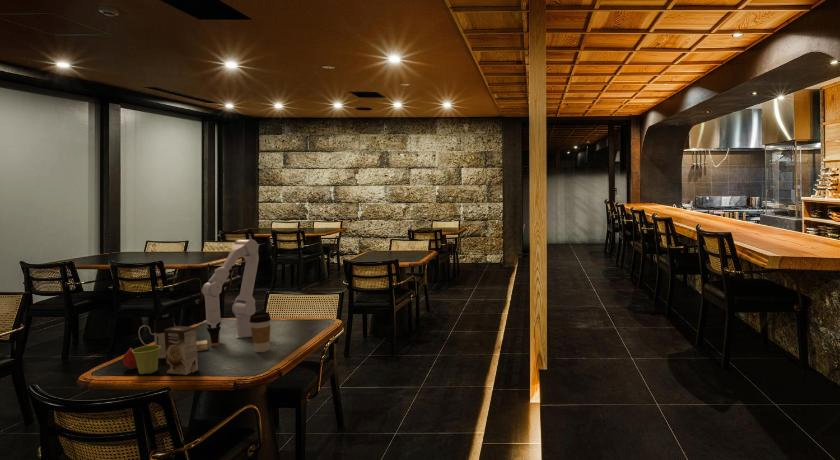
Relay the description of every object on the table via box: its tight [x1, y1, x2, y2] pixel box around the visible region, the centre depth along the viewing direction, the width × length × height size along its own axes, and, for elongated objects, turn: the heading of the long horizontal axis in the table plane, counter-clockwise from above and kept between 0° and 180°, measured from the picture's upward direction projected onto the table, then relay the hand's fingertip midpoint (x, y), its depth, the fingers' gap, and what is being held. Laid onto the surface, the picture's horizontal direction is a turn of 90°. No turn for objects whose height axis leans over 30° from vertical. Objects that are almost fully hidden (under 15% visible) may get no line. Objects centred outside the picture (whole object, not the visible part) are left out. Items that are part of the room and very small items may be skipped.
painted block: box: [209, 334, 221, 347], centre depth 232 cm, size 4×4×5 cm
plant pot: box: [132, 344, 161, 375], centre depth 196 cm, size 9×9×9 cm
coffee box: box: [164, 325, 199, 376], centre depth 195 cm, size 9×6×16 cm
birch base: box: [196, 339, 209, 352], centre depth 225 cm, size 6×6×3 cm
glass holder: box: [137, 316, 176, 359], centre depth 216 cm, size 9×14×15 cm, turn 135°
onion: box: [122, 347, 137, 370], centre depth 201 cm, size 6×6×8 cm
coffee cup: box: [249, 311, 272, 353], centre depth 219 cm, size 8×8×15 cm
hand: (214, 341), depth 232 cm, fingers open, 7 cm apart
